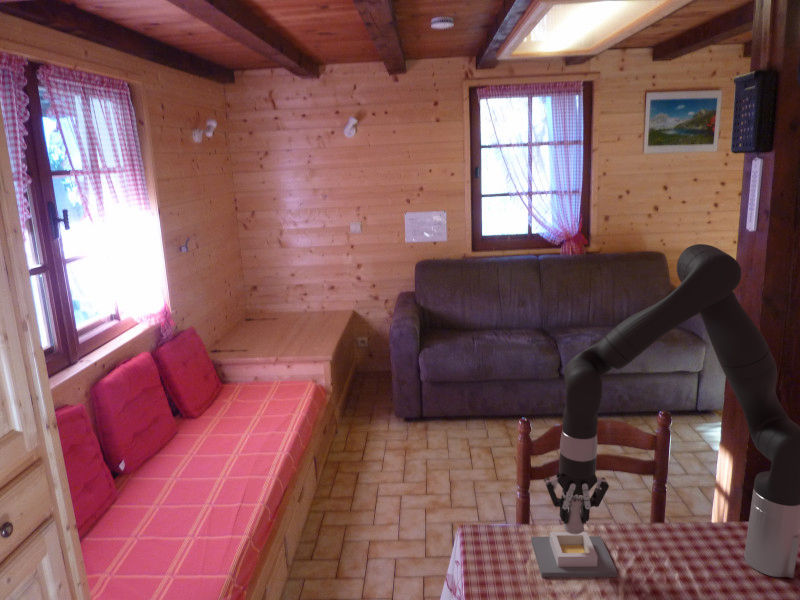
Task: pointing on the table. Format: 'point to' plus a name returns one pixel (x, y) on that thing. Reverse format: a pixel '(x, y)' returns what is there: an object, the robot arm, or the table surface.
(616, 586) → the table surface
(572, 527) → the rook chess piece
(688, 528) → the table surface
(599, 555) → the square frame on plate
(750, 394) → the robot arm
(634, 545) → the table surface
